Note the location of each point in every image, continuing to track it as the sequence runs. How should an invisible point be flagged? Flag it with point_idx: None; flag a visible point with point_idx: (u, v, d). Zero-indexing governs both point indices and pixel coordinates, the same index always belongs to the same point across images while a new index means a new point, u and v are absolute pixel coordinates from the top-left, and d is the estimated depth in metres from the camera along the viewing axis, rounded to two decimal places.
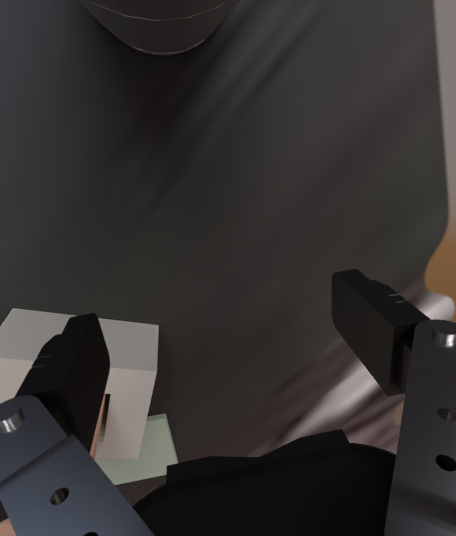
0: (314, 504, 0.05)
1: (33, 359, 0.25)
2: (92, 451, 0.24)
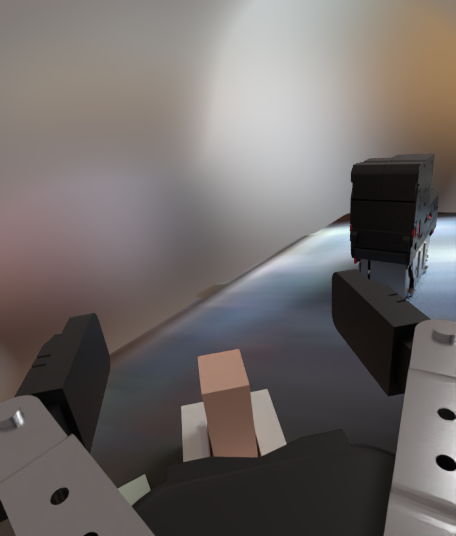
0: (314, 504, 0.05)
1: None
2: (253, 422, 0.32)
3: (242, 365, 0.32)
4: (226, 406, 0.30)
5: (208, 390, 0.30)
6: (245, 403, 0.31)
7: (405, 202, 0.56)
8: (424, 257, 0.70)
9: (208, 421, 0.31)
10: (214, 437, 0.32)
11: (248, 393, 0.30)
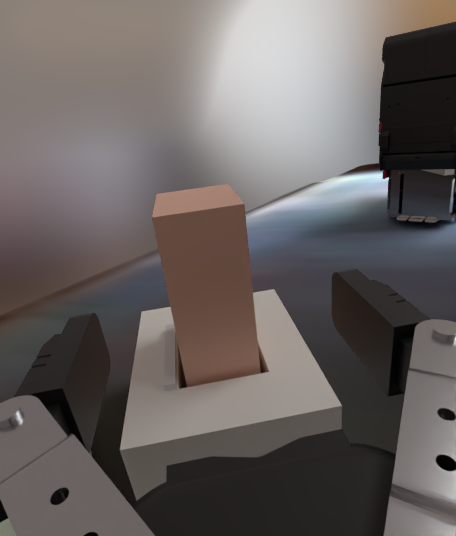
0: (314, 504, 0.05)
1: None
2: (252, 291, 0.17)
3: (232, 192, 0.18)
4: (201, 250, 0.16)
5: (165, 213, 0.16)
6: (236, 246, 0.16)
7: None
8: None
9: (168, 281, 0.17)
10: (181, 318, 0.17)
11: (242, 224, 0.16)
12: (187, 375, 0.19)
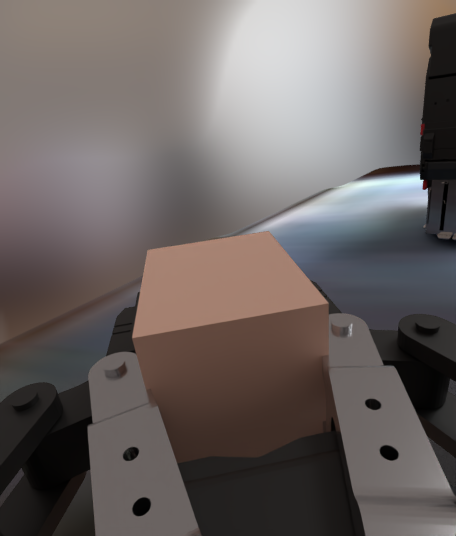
0: (314, 504, 0.05)
1: None
2: None
3: (286, 258, 0.10)
4: (236, 391, 0.08)
5: (161, 324, 0.07)
6: (304, 380, 0.08)
7: None
8: None
9: None
10: None
11: (321, 340, 0.08)
12: None
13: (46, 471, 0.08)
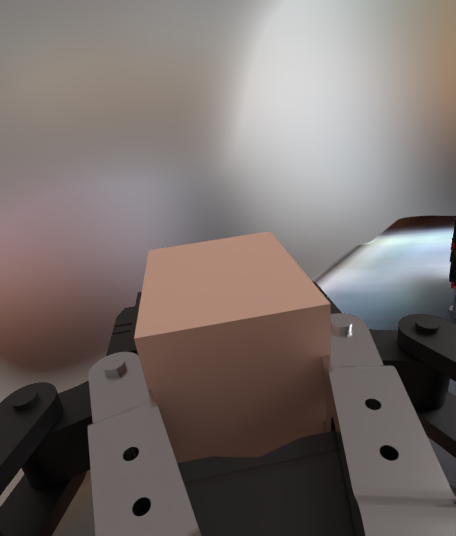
0: (314, 504, 0.05)
1: None
2: None
3: (288, 258, 0.10)
4: (237, 391, 0.08)
5: (163, 325, 0.07)
6: (306, 381, 0.08)
7: None
8: None
9: None
10: None
11: (323, 341, 0.08)
12: None
13: (46, 471, 0.08)
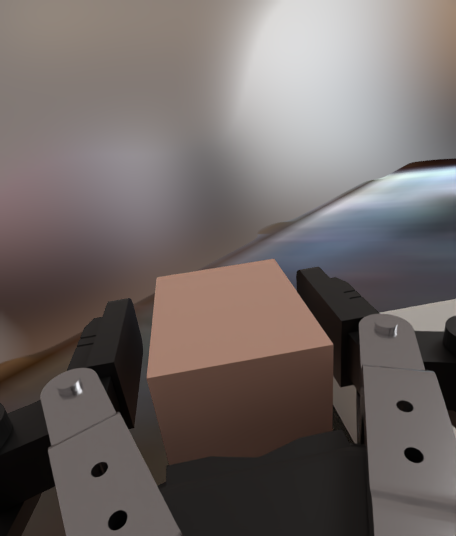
0: (314, 504, 0.05)
1: None
2: None
3: (292, 291, 0.10)
4: (244, 425, 0.08)
5: (174, 364, 0.08)
6: (310, 414, 0.08)
7: None
8: None
9: None
10: None
11: (326, 378, 0.08)
12: None
13: None
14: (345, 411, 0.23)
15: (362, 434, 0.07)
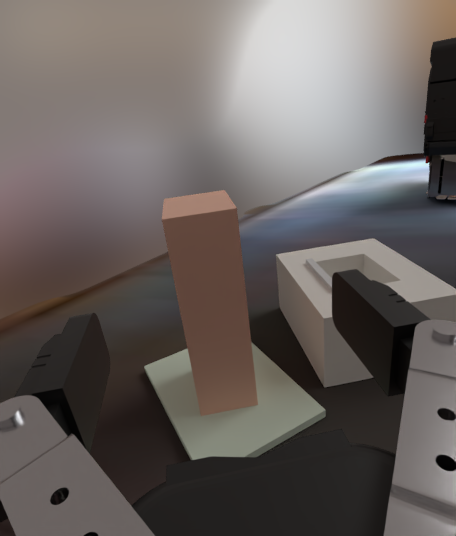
0: (314, 504, 0.05)
1: None
2: (244, 280, 0.21)
3: (227, 198, 0.21)
4: (202, 246, 0.20)
5: (172, 216, 0.19)
6: (230, 242, 0.20)
7: None
8: None
9: (174, 272, 0.20)
10: (185, 302, 0.21)
11: (235, 224, 0.20)
12: (190, 351, 0.22)
13: None
14: (287, 311, 0.34)
15: None
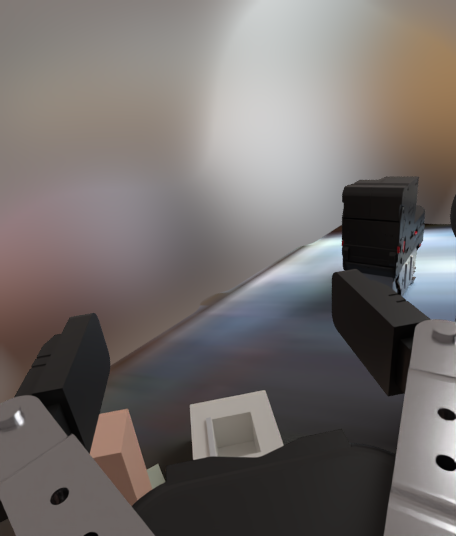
0: (314, 504, 0.05)
1: (271, 409, 0.44)
2: (132, 485, 0.33)
3: (123, 428, 0.33)
4: None
5: None
6: (119, 468, 0.31)
7: (390, 221, 0.62)
8: (411, 269, 0.76)
9: None
10: None
11: (121, 459, 0.31)
12: None
13: None
14: None
15: None
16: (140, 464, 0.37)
